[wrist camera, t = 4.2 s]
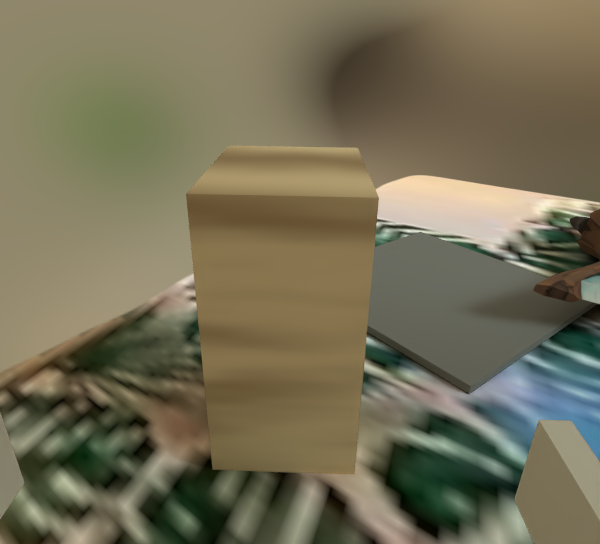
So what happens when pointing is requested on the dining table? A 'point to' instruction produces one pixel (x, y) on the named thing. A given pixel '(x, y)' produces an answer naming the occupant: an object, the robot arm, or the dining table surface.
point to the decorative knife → (582, 281)
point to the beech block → (283, 304)
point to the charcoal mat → (460, 308)
